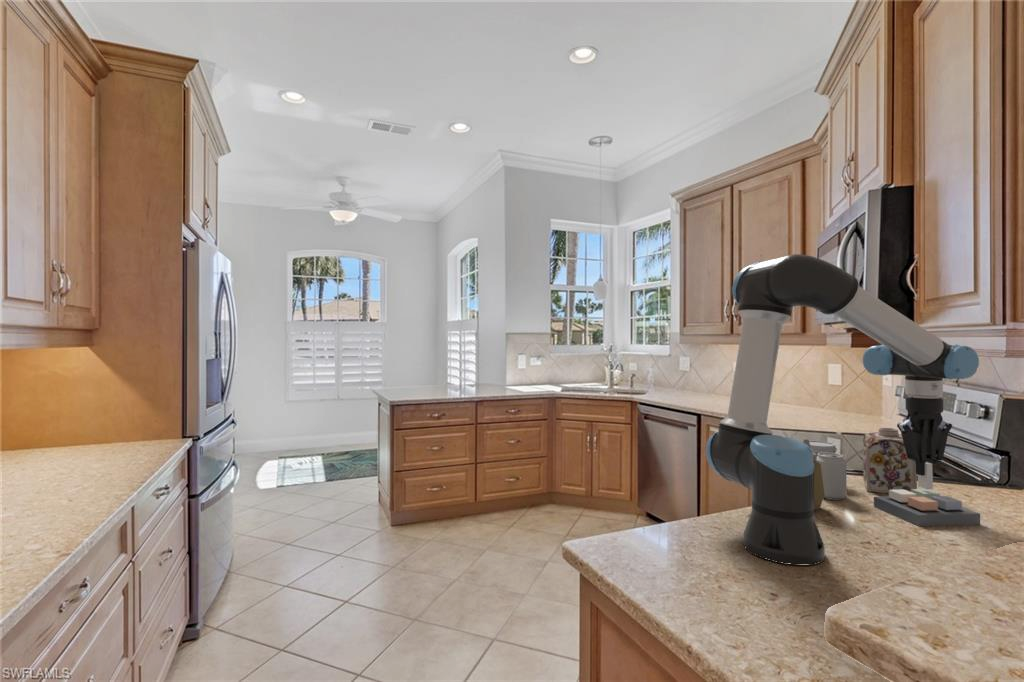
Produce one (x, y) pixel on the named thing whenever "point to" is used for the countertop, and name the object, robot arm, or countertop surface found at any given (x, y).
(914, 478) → the decorative jar
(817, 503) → the squeeze bottle
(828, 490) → the can
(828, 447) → the disposable coffee cup
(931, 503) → the terracotta key
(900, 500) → the cream key
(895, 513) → the keypad
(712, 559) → the countertop surface
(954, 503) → the slate key
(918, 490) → the sage key
